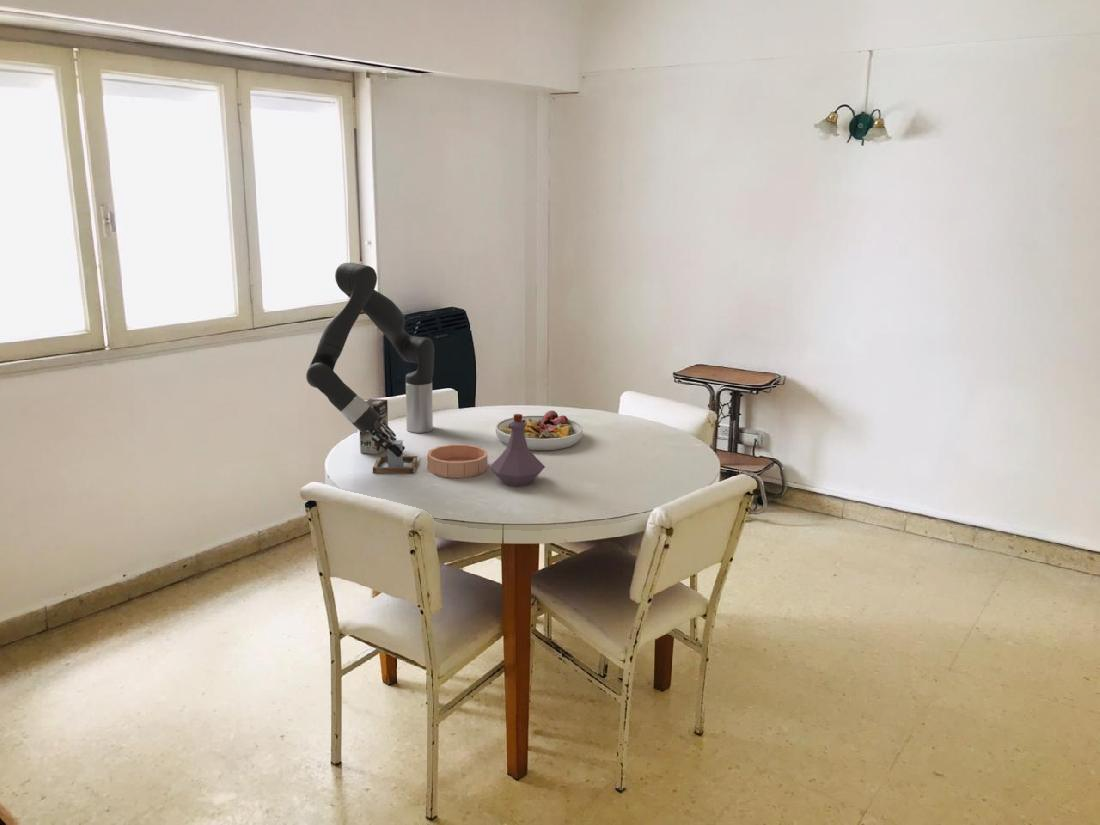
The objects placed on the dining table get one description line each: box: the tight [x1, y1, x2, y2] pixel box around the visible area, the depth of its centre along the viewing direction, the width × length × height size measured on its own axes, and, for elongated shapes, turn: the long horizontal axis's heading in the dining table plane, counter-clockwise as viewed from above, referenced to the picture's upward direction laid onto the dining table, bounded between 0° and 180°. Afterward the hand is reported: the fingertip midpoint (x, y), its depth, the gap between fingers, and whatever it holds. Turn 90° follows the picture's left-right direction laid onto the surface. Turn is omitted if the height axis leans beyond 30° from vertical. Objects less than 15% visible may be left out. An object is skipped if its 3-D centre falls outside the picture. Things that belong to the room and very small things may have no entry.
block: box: [387, 439, 404, 467], centre depth 244 cm, size 4×4×8 cm
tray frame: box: [372, 455, 419, 474], centre depth 245 cm, size 12×12×2 cm
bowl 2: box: [495, 410, 584, 452], centre depth 275 cm, size 30×30×8 cm
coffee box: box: [359, 398, 389, 455], centre depth 259 cm, size 9×6×16 cm
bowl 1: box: [426, 443, 489, 479], centre depth 244 cm, size 18×18×5 cm
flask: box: [488, 413, 546, 487], centre depth 233 cm, size 16×16×20 cm
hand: (401, 452), depth 244 cm, fingers closed on block, 4 cm apart
